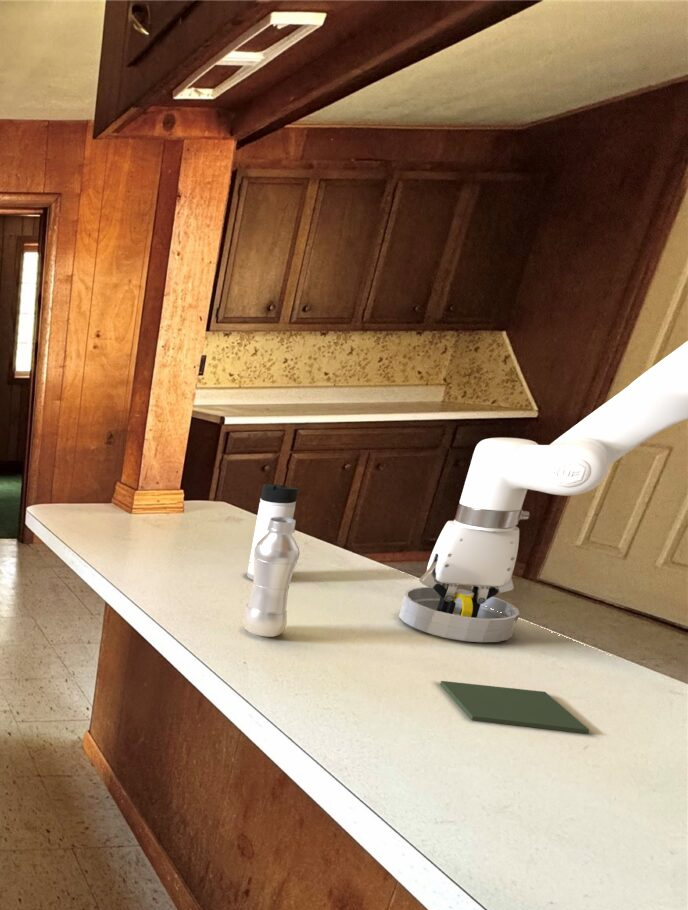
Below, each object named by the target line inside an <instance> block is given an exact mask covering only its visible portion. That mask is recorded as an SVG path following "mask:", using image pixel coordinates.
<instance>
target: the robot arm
mask: <svg viewBox="0 0 688 910" xmlns="http://www.w3.org/2000/svg"><path fill="white" fill-rule="evenodd" d="M685 420H688V340H687V341H685V342H684V343H683V344H681V345H680V346H678V347H677V348H676V349H675V350H673V351H672V352H670V353H668V355H667V356H665V357H664V358H662V359H661V360H660V361H658V362H657V363H655V364H654V365H652V366H651V367H650V368H649V369H648V370H646V371H645V372H643V373H642V374H641V375H640V376H638V377H637V378H636V379H635V380H633V381H632V382H630V384H629V385H627V386H626V387H625V388H624V389H622V390H621V391H620V392H619V393H617V394H615V395H614V396H612V398H610V399H609V400H607V401H606V402H605V403H603V404H602V405H601V406H599V407H598V408H596V409H595V410H594V411H593V412H591V413H590V414H588V415H587V416H586V417H584V418H583V419H582V420H580V421H579V422H578V423H577V424H575V425H573V426H572V427H571V428H570V429H568V430H567V431H565V432H564V433H563V434H562V435H560V436H559V437H558V438H556V439H555V440H554V441H552V442H551V443H550V444H539V443H537V442H536V441H533V440H532V439H531V440H530V439H527V438H519V437H490V438H485V439H482V440H480V441H479V442H478V443H477V444H476V446H475V448H474V451H473V453H472V456H471V457H472V458H471V460H470V465H469V468H468V472H467V474H466V478H465V481H464V485H463V489H462V492H461V496H460V499H459V503H458V505H457V509H456V513H455V517H454V519H453V520H448V521H447V522H446V523H445V524H444V526H443V528H442V530H441V532H440V534H439V536H438V538H437V540H436V542H435V545H434V547H433V549H432V552H431V554H430V558H429V561H428V564H427V567H426V571H425V572H424V574H422V576H420V578H419V582H420V583H421V584H422V585H423V586H424V587H430V588H432V589H434V590H435V591H436V592H437V593H438V595H439V596H440V600H439V604H438V607H437V611H441V612H445V613H449V614H453V611H454V608H455V605H456V603H455V602H454V601H453V599H454V595H455V592H456V590H457V589H458V586H459V585H460V586H471V588H470V591H472V592H473V593H474V596H473V598H471V599H472V602H473V603H472V604H473V611H472V615H471V617H473V618H476V617H477V614H478V611H479V608H480V605H481V604H483V603H485V602H486V600H487V599H489V598H491V597H495V596H497V595H498V594H502V593H506V592H511V591H513V590H514V588H515V586H514V582H513V579H512V576H513V574H514V570H515V566H516V561H517V558H518V550H519V543H520V528H519V527H518V526H517V525H519V522H520V521H525V520H526V521H527V520H528V519H530V511H527V510H523V504H524V501H525V499H526V495H527V493H528V490H529V491H537V492H541V493H546V494H550V495H556V496H567V497H568V496H578V495H582V494H584V493H587V492H590V491H592V490H594V489H596V488H597V487H598V486H599V485H601V484H602V482H603V481H605V478H606V477H607V475H608V472H609V467H610V466H611V465H613V464H614V463H616V462H617V461H618V460H620V459H621V458H622V457H625V455H627V454H628V453H629V452H631V451H632V450H634V449H635V448H637V447H638V446H640V445H641V444H643V443H645V442H646V441H647V440H649V439H651V438H652V437H654V436H655V435H658V434H659V433H661V432H663V431H664V430H666V429H669V428H670V427H671V426H673V425H676V424H679V423H680V422H683V421H685ZM461 613H462V608H461V611H460V615H459V616H461Z"/></svg>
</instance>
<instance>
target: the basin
mask: <svg viewBox="0 0 688 910" xmlns="http://www.w3.org/2000/svg"><path fill="white" fill-rule="evenodd" d="M439 600H440V596H439V595H438V593H437V592H436V591H435V590H434V589H432V588H430V587H428V586H417V587H413V588H409V589H407V590H405V591H404V592H403V596H402V600H401V603H400V607H399V612H398V617H399V619H400V620H401V621H402V622H403V623H405V624H407V625H408V626H410V627H412V628H414V629H417V630H419V631H421V632H424V633H426V634H429V635H432V636H436V637H438V638H439V637H440V638H445V639H447V640H448V639H449V640H452V641H453V640H454V641H461V642H469V643H499V642H504V641H508V640H509V639H510V638H511V637H513V634H514V631H515V629H516V626H517V623H518V620H519V617H520V610H519V608H518V607H516V606H515V605H514V604H512V603H511V602H508V601H506V600H503V599H502V598H499V597H495V596H493V597H491V598H489V599H487V600H486V602H485V603H483V604H481V605H480V608H479V611H478V614H477V617H476V618H473V617H466V616H459V615H460V611H461V608H462V601H461V598H459V597H457V599H456V601H455V603H456V605H455V608H454V611H453V613H454V615H453V614H449V613H445V612H441V611H437V607H438V604H439ZM485 606H487V607H485ZM490 608H492V609H494V610H491V609H490ZM497 611H498V612H497ZM500 612H502V613H500Z"/></svg>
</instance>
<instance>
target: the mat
mask: <svg viewBox="0 0 688 910" xmlns="http://www.w3.org/2000/svg"><path fill="white" fill-rule="evenodd" d="M439 685H440V686H441V687H442V688H443V690H444V691H445V692H446V693H447V694H448V695H449V696H450V697H451V699H452V700H453V701H454V702H455V703H456V704H457V705H458V706H459V708H460V709H461V710H462V711H463V712H464V713H465V715H466V716H468V718H469V719H470V720H471V721H479V722H485V723H487V722H488V723H495V724H503V725H512V726H521V727H527V728H528V727H529V728H536V729H546V730H554V731H562V732H568V733H569V732H571V733H577V734H587V735H588V733H589V732H590V729H589V728H588V727H587V726H586V725H584V724H583V723H582V721H579V719H577V718H576V717H575V716H574V715H572V713H570V712H569V711H568V710H567V709H566V708H565V707H564V706H562V705H561V704H560V703H559V702H557V701H556V700H555V699H554V698H553V697H552V696H551V695H550V694H549V693H547V692H546V691H541V690H533V689H522V688H513V687H504V686H493V685H485V684H474V683H465V682H456V681H447V680H440V683H439Z"/></svg>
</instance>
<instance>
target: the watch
mask: <svg viewBox="0 0 688 910" xmlns="http://www.w3.org/2000/svg"><path fill="white" fill-rule="evenodd" d="M473 596H474V593H473V592H472V591H471V590H469V589H463V588H457V590H456V592H455V595H454V599H453V601H454V602H455V601H456V599H457V597H459V598H461V601H462V613H461V616H466V617H471V615H472V611H473V604H472V603H473V602H472V599H471V598H473ZM453 615H454V613H453Z"/></svg>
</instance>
